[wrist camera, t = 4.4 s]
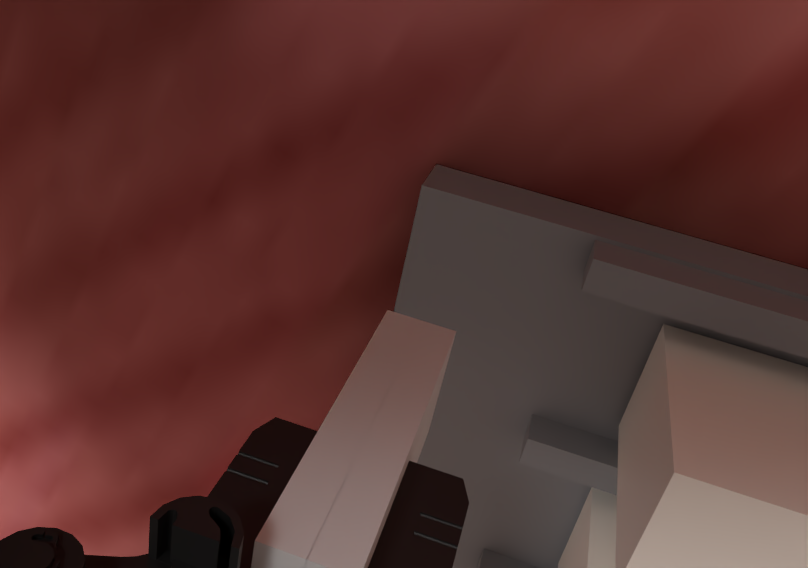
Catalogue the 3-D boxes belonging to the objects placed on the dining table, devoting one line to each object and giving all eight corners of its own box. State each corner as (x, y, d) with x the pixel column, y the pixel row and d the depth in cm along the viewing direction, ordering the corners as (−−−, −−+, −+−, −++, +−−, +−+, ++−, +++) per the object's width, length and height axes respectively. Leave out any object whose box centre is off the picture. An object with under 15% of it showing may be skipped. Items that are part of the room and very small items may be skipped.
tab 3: (618, 426, 19) (614, 589, 14) (663, 324, 17) (674, 472, 13) (786, 479, 18) (835, 665, 14) (847, 379, 17) (924, 553, 12)
